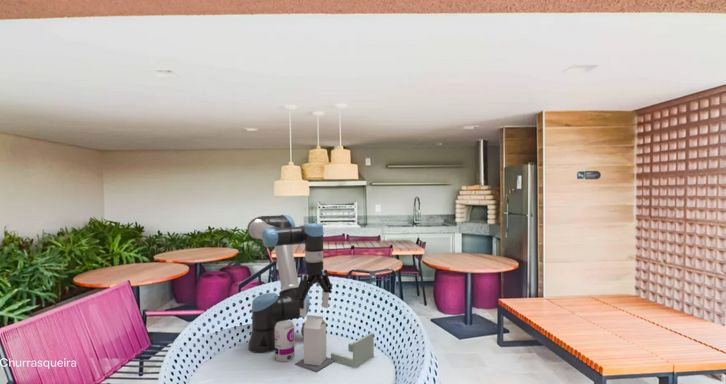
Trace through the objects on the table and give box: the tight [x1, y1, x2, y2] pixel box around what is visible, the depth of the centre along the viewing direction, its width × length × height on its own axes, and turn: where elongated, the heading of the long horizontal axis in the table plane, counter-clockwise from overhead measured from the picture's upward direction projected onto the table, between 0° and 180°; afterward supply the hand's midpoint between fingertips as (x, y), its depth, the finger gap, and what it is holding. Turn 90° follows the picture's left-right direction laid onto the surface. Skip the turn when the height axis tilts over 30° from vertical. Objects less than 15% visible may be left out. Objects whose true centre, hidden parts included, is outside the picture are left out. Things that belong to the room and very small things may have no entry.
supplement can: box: [274, 320, 295, 363], centre depth 163 cm, size 8×8×15 cm
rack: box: [330, 332, 375, 369], centre depth 162 cm, size 13×13×10 cm
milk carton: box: [303, 314, 327, 366], centre depth 158 cm, size 7×7×19 cm
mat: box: [294, 356, 336, 373], centre depth 158 cm, size 12×12×1 cm
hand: (314, 311), depth 159 cm, fingers open, 13 cm apart
